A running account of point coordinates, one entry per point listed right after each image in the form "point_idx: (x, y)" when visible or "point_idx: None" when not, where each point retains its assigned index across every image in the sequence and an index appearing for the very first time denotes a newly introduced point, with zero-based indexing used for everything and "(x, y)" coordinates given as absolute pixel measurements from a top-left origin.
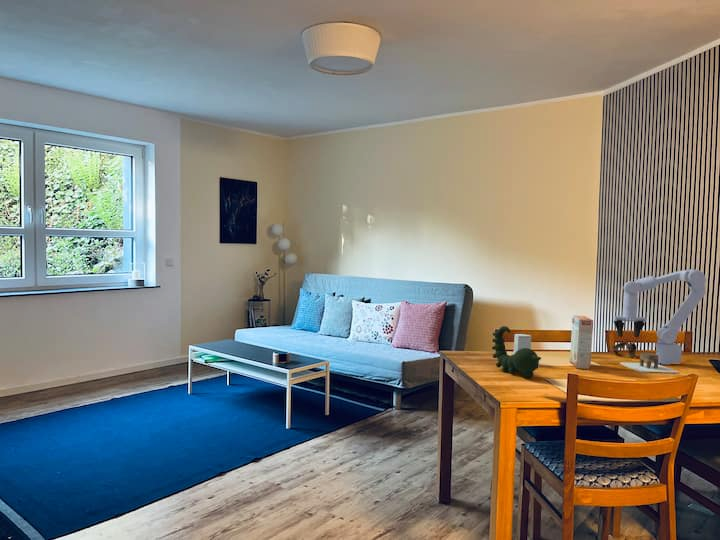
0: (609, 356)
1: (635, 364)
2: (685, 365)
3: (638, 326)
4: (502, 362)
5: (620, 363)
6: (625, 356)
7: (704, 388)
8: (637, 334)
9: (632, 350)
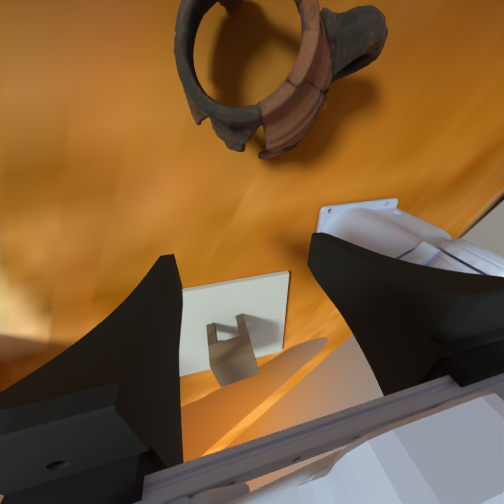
0: (143, 123)
1: (199, 311)
2: None
3: (369, 346)
4: None
5: None
6: None
7: (248, 417)
8: (319, 284)
9: (289, 149)
